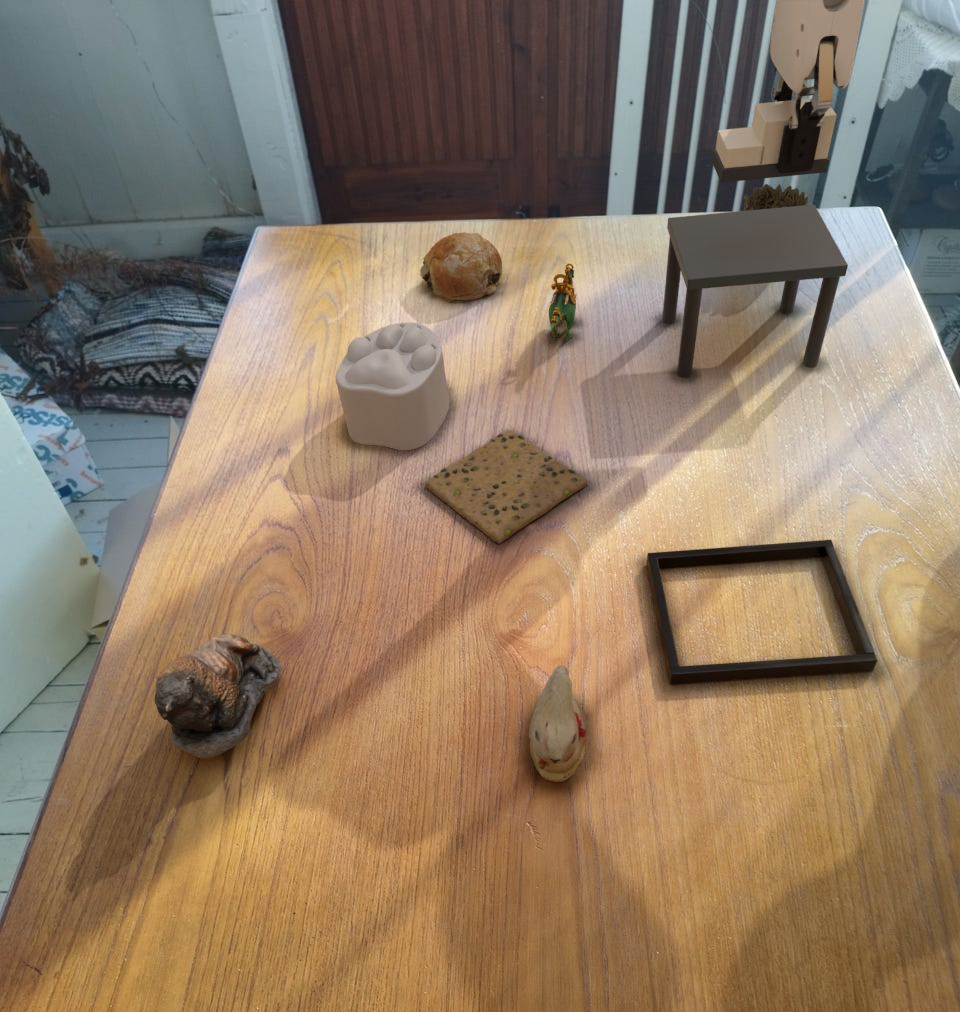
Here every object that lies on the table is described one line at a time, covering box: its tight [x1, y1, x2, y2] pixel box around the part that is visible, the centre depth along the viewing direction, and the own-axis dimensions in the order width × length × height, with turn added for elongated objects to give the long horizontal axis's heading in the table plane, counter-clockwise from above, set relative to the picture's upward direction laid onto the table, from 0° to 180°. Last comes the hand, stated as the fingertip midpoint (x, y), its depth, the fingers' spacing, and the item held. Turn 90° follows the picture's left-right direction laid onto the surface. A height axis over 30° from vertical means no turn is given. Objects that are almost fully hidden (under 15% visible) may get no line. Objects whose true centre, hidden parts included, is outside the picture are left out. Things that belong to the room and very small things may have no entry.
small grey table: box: [661, 204, 849, 379], centre depth 96 cm, size 16×13×12 cm
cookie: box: [424, 430, 587, 545], centre depth 88 cm, size 12×12×1 cm
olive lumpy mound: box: [743, 183, 809, 211], centre depth 108 cm, size 8×7×8 cm
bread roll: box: [419, 231, 503, 302], centre depth 112 cm, size 10×10×8 cm
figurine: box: [548, 263, 578, 341], centre depth 101 cm, size 3×12×8 cm, turn 166°
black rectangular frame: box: [646, 539, 878, 685], centre depth 76 cm, size 17×14×2 cm
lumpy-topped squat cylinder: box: [334, 321, 450, 451], centre depth 95 cm, size 10×13×9 cm
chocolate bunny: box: [528, 664, 588, 783], centre depth 66 cm, size 6×8×10 cm
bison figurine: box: [154, 633, 282, 760], centre depth 70 cm, size 12×7×10 cm, turn 168°
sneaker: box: [711, 97, 838, 184], centre depth 82 cm, size 10×4×5 cm, turn 92°
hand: (787, 156), depth 83 cm, fingers closed on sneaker, 4 cm apart
